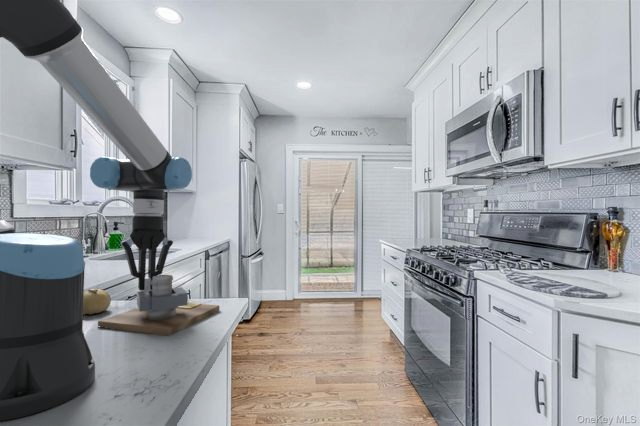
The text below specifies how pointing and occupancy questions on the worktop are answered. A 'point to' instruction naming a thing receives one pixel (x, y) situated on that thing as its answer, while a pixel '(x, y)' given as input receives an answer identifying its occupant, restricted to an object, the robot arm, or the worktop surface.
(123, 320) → the base
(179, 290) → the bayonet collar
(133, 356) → the worktop surface
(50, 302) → the robot arm
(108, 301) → the onion
